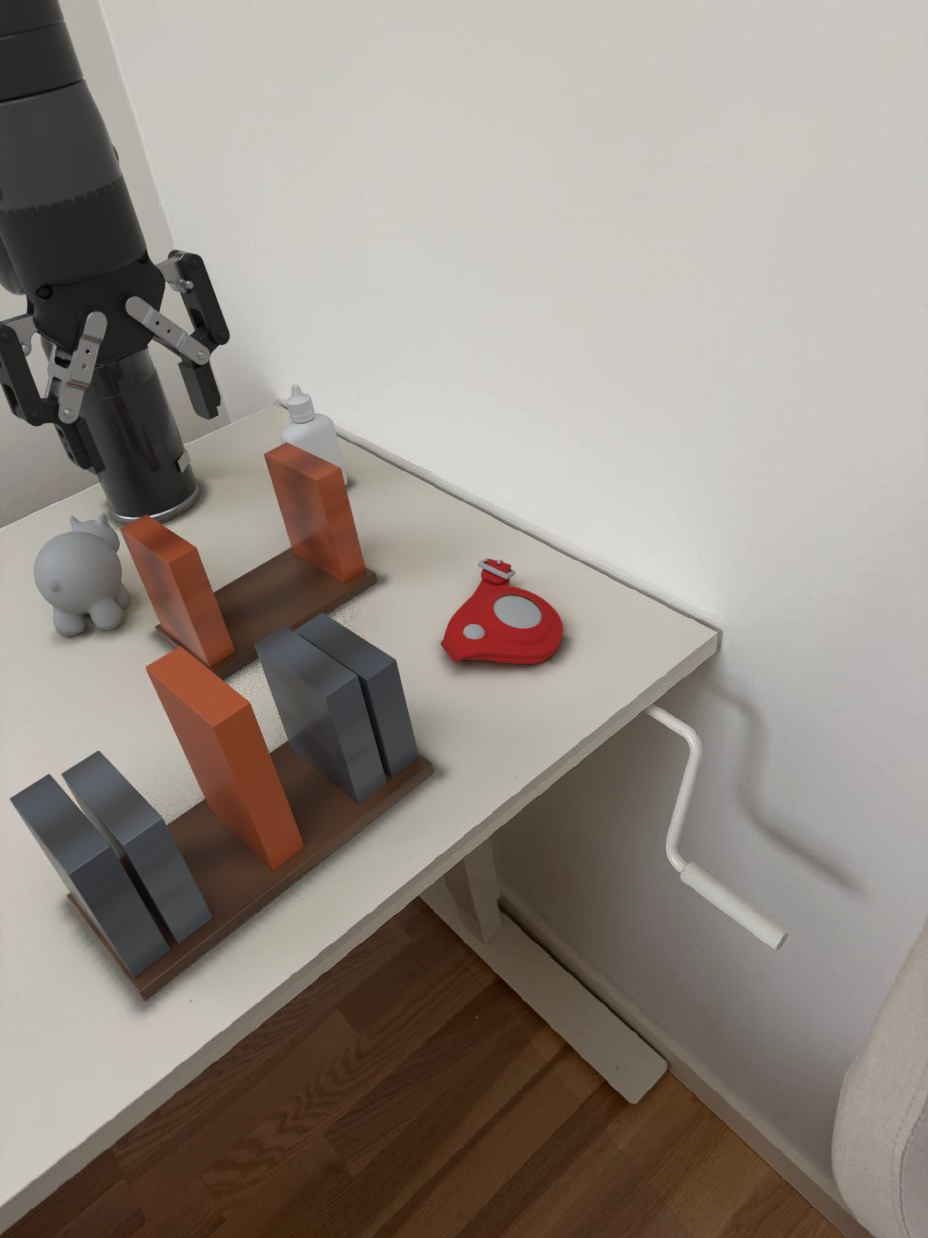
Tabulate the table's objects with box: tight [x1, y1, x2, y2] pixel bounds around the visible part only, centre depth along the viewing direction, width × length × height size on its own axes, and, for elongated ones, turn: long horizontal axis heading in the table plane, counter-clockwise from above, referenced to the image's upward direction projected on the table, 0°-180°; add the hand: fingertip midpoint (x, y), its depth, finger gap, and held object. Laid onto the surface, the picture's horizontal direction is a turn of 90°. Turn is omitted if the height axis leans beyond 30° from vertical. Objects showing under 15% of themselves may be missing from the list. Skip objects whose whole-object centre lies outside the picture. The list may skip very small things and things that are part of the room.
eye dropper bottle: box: [279, 383, 348, 487], centre depth 96 cm, size 4×6×12 cm
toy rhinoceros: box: [33, 512, 132, 637], centre depth 86 cm, size 7×12×8 cm, turn 179°
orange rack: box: [119, 442, 378, 681], centre depth 81 cm, size 10×17×12 cm, turn 133°
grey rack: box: [9, 613, 434, 1002], centre depth 61 cm, size 10×23×11 cm, turn 133°
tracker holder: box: [440, 557, 564, 665], centre depth 77 cm, size 12×4×10 cm
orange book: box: [145, 646, 305, 870], centre depth 60 cm, size 8×2×13 cm, turn 43°
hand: (152, 442), depth 63 cm, fingers open, 8 cm apart
